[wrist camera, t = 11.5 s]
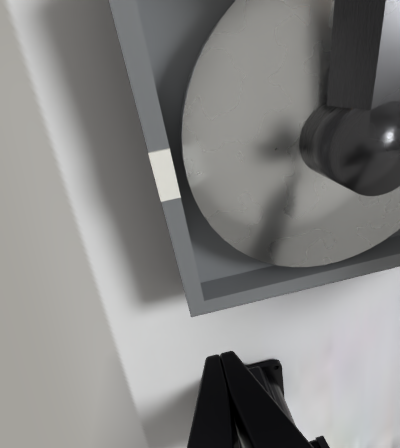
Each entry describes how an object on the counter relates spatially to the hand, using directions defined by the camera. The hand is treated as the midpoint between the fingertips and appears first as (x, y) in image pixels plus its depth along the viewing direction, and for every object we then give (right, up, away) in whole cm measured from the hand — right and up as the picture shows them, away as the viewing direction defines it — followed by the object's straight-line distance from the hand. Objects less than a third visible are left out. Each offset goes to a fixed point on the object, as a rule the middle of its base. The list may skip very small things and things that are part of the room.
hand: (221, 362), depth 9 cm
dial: (+6, +10, +6) cm, 13 cm away
